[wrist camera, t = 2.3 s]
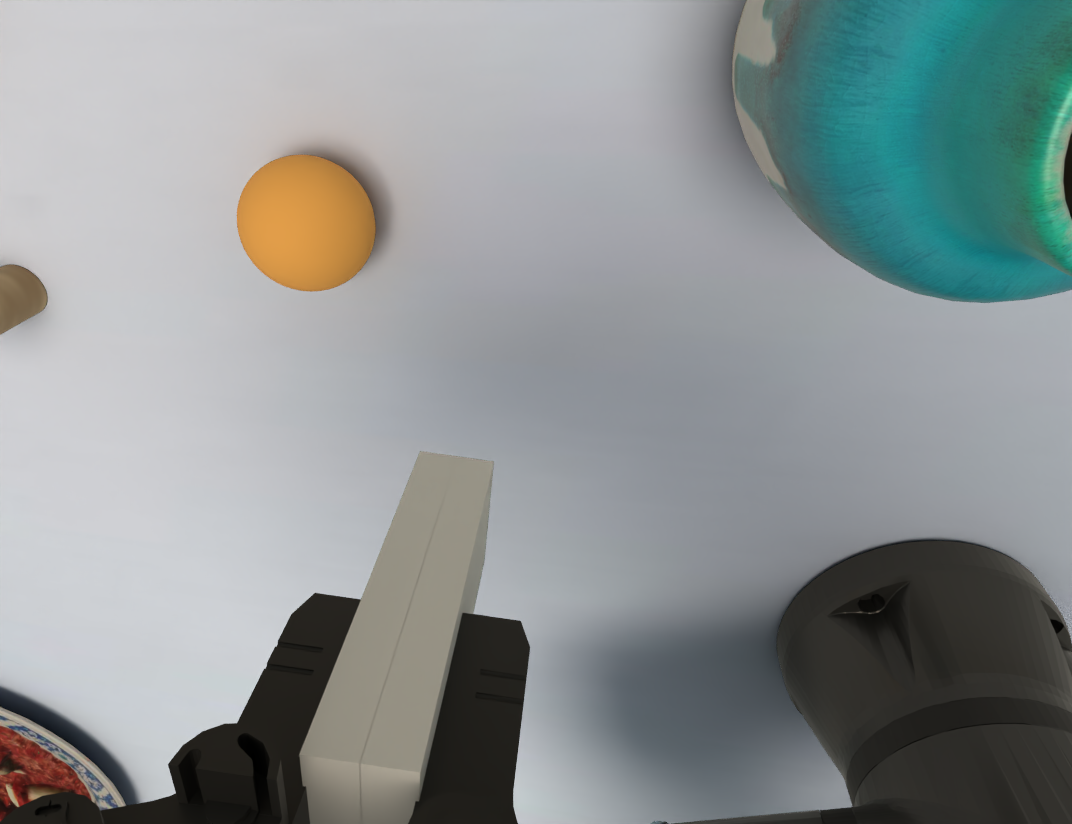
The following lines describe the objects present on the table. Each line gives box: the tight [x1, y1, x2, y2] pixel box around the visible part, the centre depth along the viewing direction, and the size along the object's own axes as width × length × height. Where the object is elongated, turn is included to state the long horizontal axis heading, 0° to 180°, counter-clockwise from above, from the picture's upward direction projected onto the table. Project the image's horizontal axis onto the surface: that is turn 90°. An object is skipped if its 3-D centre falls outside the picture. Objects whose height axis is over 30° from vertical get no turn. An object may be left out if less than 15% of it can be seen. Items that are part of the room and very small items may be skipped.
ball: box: [237, 155, 376, 291], centre depth 30 cm, size 6×6×6 cm
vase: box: [732, 0, 1072, 303], centre depth 19 cm, size 11×11×19 cm
